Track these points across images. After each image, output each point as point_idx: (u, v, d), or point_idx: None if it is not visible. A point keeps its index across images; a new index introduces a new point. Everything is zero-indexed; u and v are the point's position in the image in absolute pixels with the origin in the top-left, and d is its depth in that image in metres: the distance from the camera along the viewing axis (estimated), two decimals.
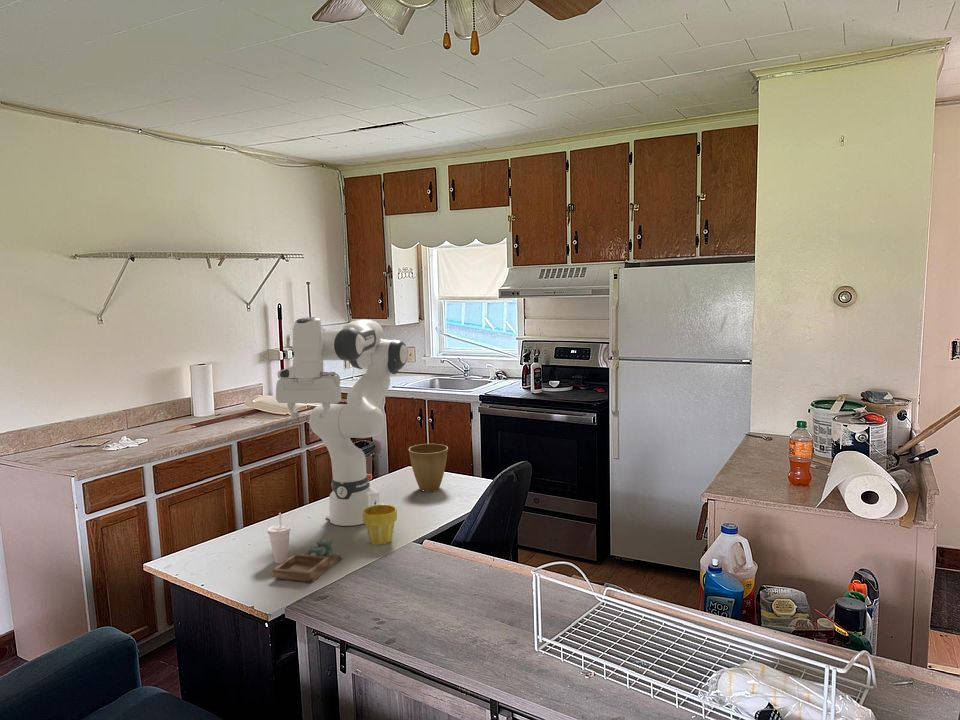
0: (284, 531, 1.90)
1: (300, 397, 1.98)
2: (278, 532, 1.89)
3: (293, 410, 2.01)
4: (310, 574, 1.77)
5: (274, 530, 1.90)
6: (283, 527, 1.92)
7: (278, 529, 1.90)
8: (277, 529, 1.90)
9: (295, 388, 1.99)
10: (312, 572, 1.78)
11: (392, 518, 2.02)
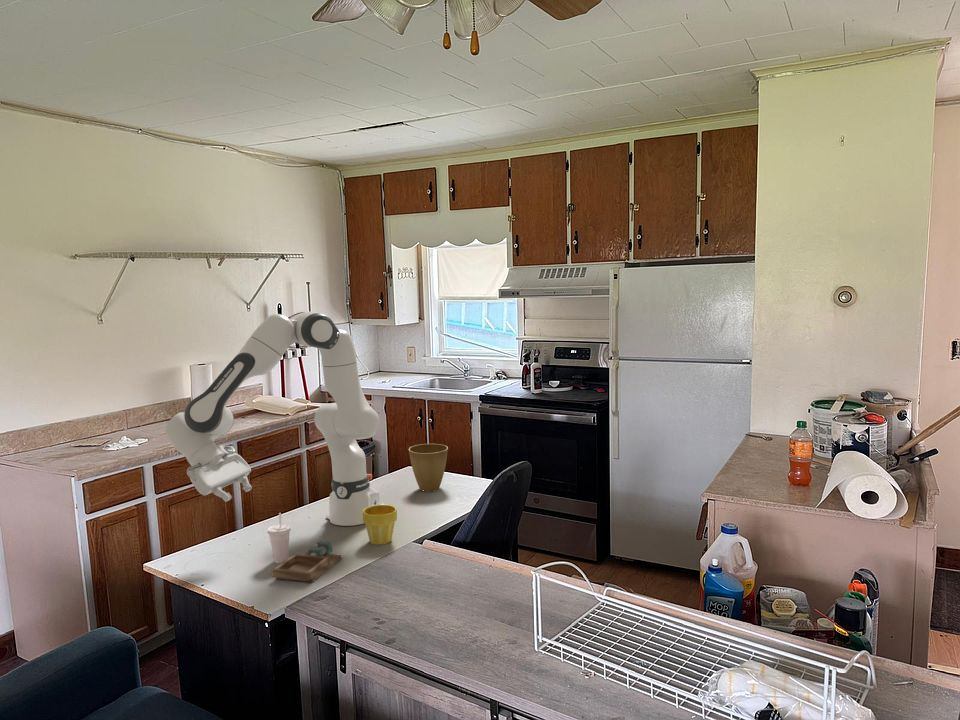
0: (284, 531, 1.90)
1: None
2: (278, 532, 1.89)
3: (244, 484, 1.99)
4: (310, 574, 1.77)
5: (274, 530, 1.90)
6: (283, 527, 1.92)
7: (278, 529, 1.90)
8: (277, 529, 1.90)
9: None
10: (312, 572, 1.78)
11: (392, 518, 2.02)
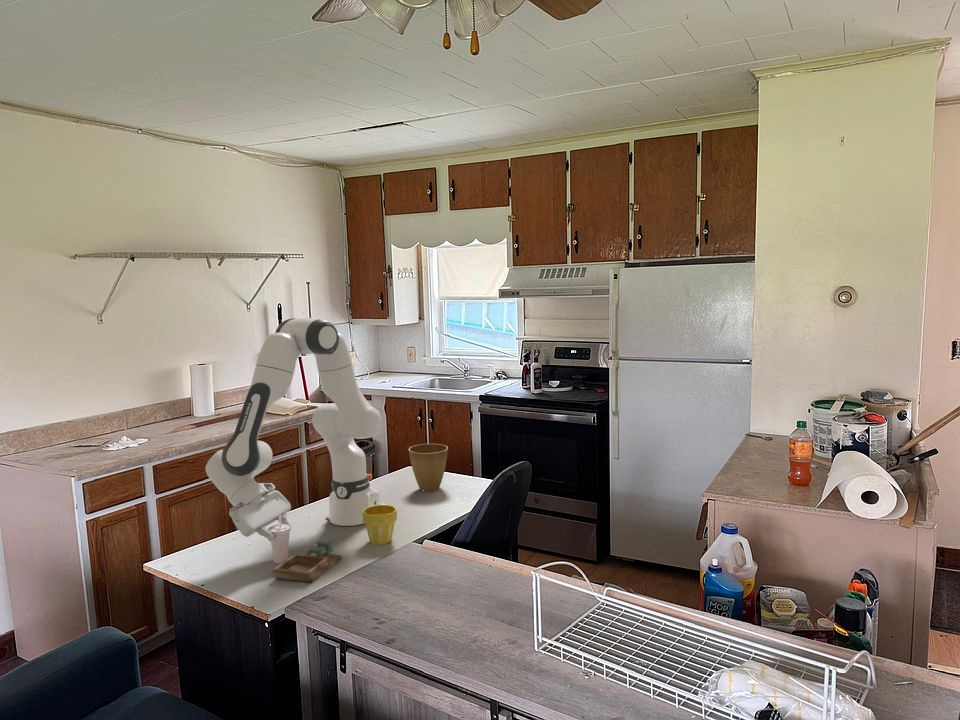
0: (284, 531, 1.90)
1: None
2: (278, 532, 1.89)
3: (284, 523, 1.96)
4: (310, 574, 1.77)
5: (274, 530, 1.90)
6: (283, 527, 1.92)
7: (278, 529, 1.90)
8: (277, 529, 1.90)
9: None
10: (312, 572, 1.78)
11: (392, 518, 2.02)
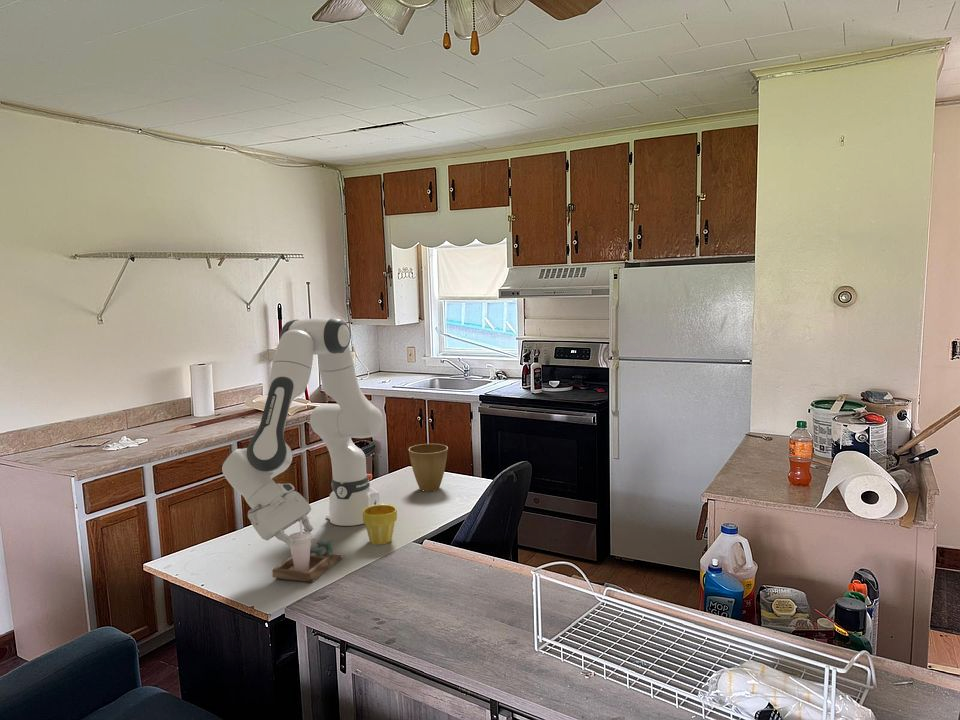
0: (306, 539, 1.80)
1: None
2: (299, 540, 1.79)
3: (305, 524, 1.87)
4: (310, 574, 1.77)
5: (295, 538, 1.80)
6: (304, 535, 1.82)
7: (299, 537, 1.81)
8: (298, 537, 1.81)
9: None
10: (312, 572, 1.78)
11: (392, 518, 2.02)
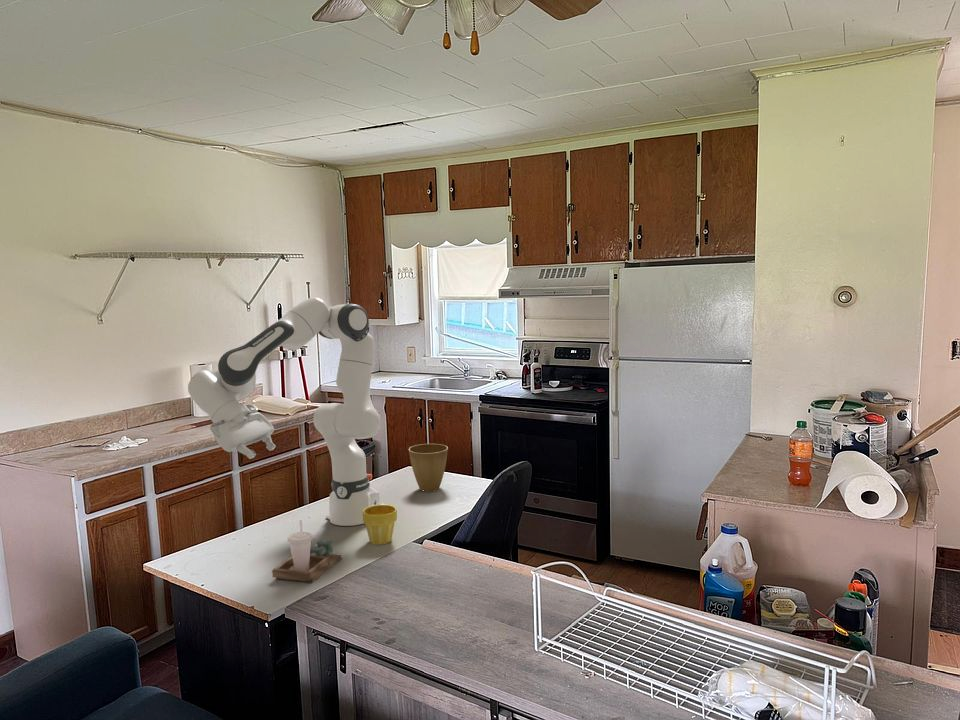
0: (306, 539, 1.80)
1: None
2: (299, 540, 1.79)
3: (268, 443, 1.96)
4: (310, 574, 1.77)
5: (295, 538, 1.80)
6: (304, 535, 1.82)
7: (299, 537, 1.81)
8: (298, 537, 1.81)
9: None
10: (312, 572, 1.78)
11: (392, 518, 2.02)
